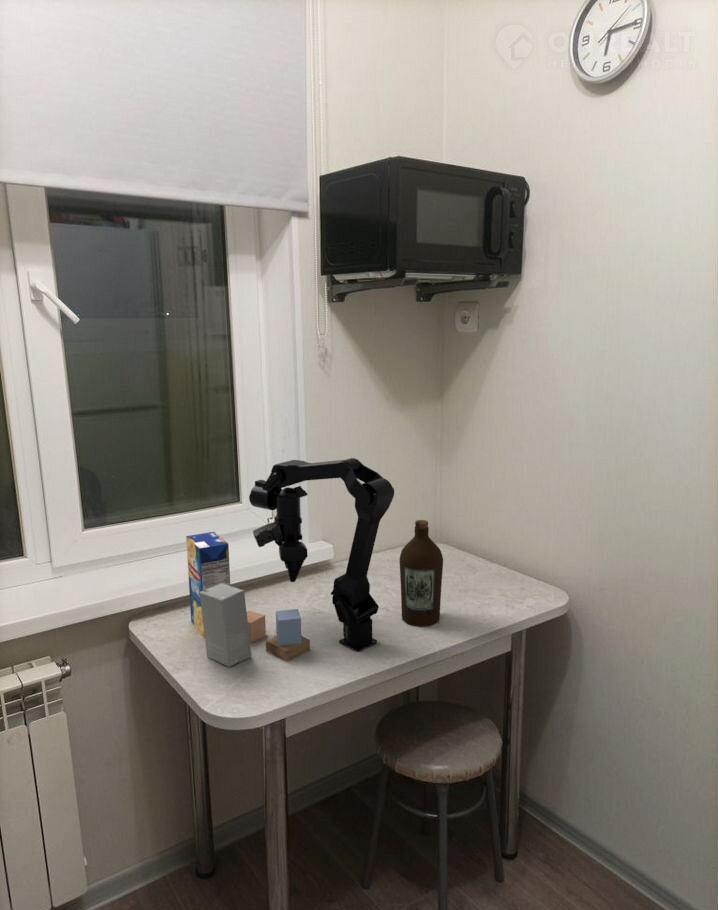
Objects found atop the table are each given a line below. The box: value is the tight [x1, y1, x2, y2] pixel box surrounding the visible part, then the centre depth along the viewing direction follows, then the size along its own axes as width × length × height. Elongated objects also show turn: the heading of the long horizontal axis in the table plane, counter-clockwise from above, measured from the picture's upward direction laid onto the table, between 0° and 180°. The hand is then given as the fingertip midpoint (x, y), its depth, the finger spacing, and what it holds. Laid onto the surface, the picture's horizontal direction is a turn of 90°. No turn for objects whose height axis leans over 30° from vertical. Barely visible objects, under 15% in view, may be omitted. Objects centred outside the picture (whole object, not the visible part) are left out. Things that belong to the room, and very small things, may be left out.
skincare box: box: [200, 583, 252, 668], centre depth 149 cm, size 8×7×16 cm
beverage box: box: [185, 531, 231, 639], centre depth 164 cm, size 7×11×22 cm, turn 30°
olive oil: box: [399, 519, 444, 627], centre depth 167 cm, size 11×11×25 cm
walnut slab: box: [265, 635, 311, 662], centre depth 153 cm, size 7×7×3 cm
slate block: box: [275, 608, 302, 646], centre depth 152 cm, size 5×5×6 cm
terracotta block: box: [246, 610, 267, 644], centre depth 160 cm, size 5×5×5 cm
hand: (290, 574), depth 166 cm, fingers open, 9 cm apart
